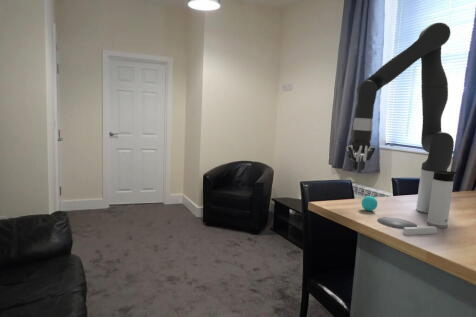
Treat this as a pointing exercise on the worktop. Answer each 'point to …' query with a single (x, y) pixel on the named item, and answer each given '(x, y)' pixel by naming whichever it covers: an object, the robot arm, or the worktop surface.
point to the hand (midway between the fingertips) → (358, 169)
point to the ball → (369, 203)
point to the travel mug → (440, 199)
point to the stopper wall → (420, 230)
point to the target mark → (396, 222)
